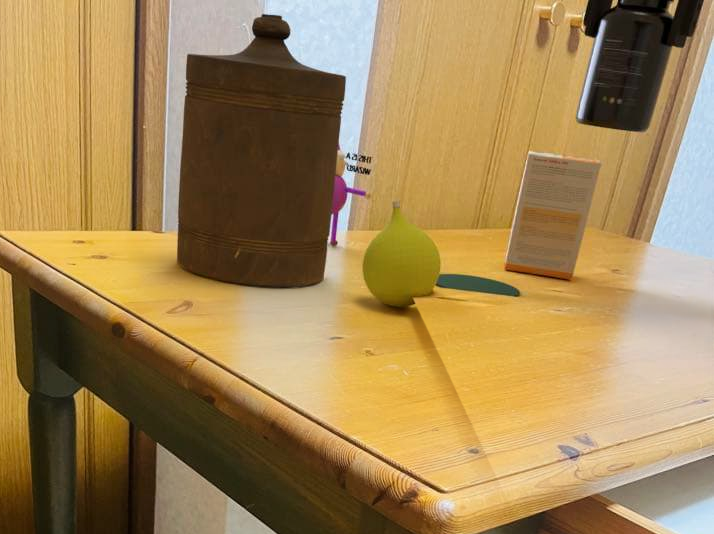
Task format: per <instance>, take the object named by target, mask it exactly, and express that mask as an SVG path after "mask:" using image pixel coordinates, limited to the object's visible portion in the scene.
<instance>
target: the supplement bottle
mask: <svg viewBox="0 0 714 534" xmlns="http://www.w3.org/2000/svg"><path fill="white" fill-rule="evenodd" d="M674 3H675V0H617V2H616V5H615V6H612V7H611V9H609V10H607V11H606V12H605V13H604V14H603V15H602V17H601V18H600V20H599V23H598V26H597V30H596V34H595V38H593V42H592V47H591V51H590V55H589V59H588V63H587V67H586V70H585V75H584V79H583V84H582V88H581V92H580V95H579V100H578V105H577V109H576V113H575V121H576V122H577V124H581V125H584V126H590V127H598V128H603V129H609V130H617V131H625V132H632V133H633V132H635V133H646V132H647V131H649V129H650V126H651V123H652V120H653V116H654V114H655V110H656V106H657V103H658V99H659V96H660V92H661V88H662V85H663V82H664V78H665V74H666V71H667V68H668V64H669V60H670V58H671V53H672V50H673V47H674V46H672V45H669V43H667V38H668V35H669V31H670V28H671V24H672V21H673V17H674V15H673V14H672V13H670V11H669V9H670V5H672V4H674Z"/></svg>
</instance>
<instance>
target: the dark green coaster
mask: <svg viewBox="0 0 714 534" xmlns="http://www.w3.org/2000/svg"><path fill="white" fill-rule="evenodd" d="M435 286H437V287H439V288H442V289H449V290H456V291H465V292H473V293H481V294H489V295H498V296H505V297H513V298H517V297H519V296H520V294H521V292H520V290H519V289H518V288H516V287H515V286H513V285H511V284H508V283H505V282H503V281H499V280H496V279H491V278H487V277H484V276H483V277H482V276H477V275H470V274H461V273H440V274H439V278H438V280H437V283H436V285H435Z"/></svg>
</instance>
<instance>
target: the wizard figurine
mask: <svg viewBox="0 0 714 534" xmlns="http://www.w3.org/2000/svg"><path fill="white" fill-rule="evenodd" d="M352 155H353V156H352V157H351V154H350V152H347V153H346V154H345V153H344V151H343V150H341V146H340V143H339V144H338V154H337V163H336V174H335V185H334V197H333V206H332V223H331V232H330V241H329V244H330V246H332V247H337V246H338V243H339V242H338V240H337V231H338V222H339V213H340V211H341V210H342V209H343V208H344V206H345V205H346V202H347V199H348V193H349V194H352V195H357V196H361V197H364V198H365V199H368V200H370V199H372V195H373V194H372V192H371V190H366V191H365V190H362V189H357V188H353V187H348V185H347V183H346V181H345V179H344V177H342V176H343V175H344V174H345V169H346V170H347V171H348V172H353V173H357V174H361V175H366V176H370V174H371V171H372V168H367V167H364V166H359V165H358V166H356V165H352V164H349V163H348V162H347V159H348V160H352V161H356V162H361V163H366V164H372V159H373V157H372V156H367V155H362V154H359V155H358V153H352ZM358 156H359V158H358Z"/></svg>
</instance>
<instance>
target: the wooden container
mask: <svg viewBox="0 0 714 534" xmlns="http://www.w3.org/2000/svg"><path fill="white" fill-rule="evenodd" d="M251 31H252V35H253V36H254V38H253V40H252V41H251V42H250V43H249V45H247V46H246V47H245V48H244V49H243V50H242V51H240V52H237V53H234V54H222V55H221V54H218V55H216V54H196V53H187V55H186V66H185V80H186V82H185V89H186V90H185V93H186V95H184V103H183V104H184V105H183V121H182V137H181V138H182V139H181V154H180V166H179V186H178V204H177V205H178V206H177V212H178V213H177V222H178V223H177V226H178V227H177V240H176V243H177V245H176V261H177V263H178V264H179V265H180V266H181V267H182V268H184V269H185V268H186V270H187V271H189V272H191V273H194V274H197V275H200V276H203V277H205V278H210V279H215V280H219V281H223V282H229V283H235V284H240V285H241V284H242V285H250V286H258V287H273V288H274V287H278V288H281V287H282V288H283V287H284V288H285V287H303V286H310V285H312V284H316V283H318V282H320V281H322V280H323V279H324V277H325V271H326V263H327V256H328V242H329V237H330V235H331V225H332V223H331V222H332V217H333V214H332V206H333V197H334V185H335V174H336V163H337V154H338V144H339V145H340V133H341V125H342V124H341V123H342V114H343V112H342V111H343V110H344V108H343V106H344V103H343V102H344V101H345V96H346V85H347V77H346V75H344V74H343V75H342V74H338V73H332V72H328V71H323V70H319V69H317V68H313V67H311V66H308V65H306V64H303V63H301V62H300V61H298V60H297V59H296V58H295V57H294V56H293V55H292V53H291V52H290V50H289V48H288V46H287V45H286V42H285V40H288V39H289V38H290V35H291V27H290V24H289V23H288V22H287V21H286V20H285V19H284V20H283V16H282V15H278V14H267V13H261V16H257V17H255V18H254V19H253V22H252V26H251Z"/></svg>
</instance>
